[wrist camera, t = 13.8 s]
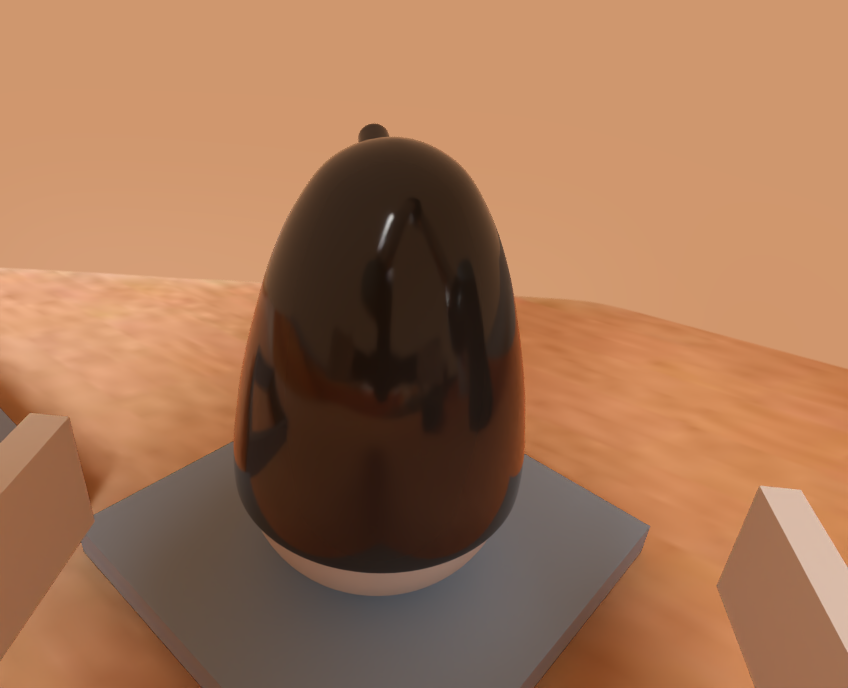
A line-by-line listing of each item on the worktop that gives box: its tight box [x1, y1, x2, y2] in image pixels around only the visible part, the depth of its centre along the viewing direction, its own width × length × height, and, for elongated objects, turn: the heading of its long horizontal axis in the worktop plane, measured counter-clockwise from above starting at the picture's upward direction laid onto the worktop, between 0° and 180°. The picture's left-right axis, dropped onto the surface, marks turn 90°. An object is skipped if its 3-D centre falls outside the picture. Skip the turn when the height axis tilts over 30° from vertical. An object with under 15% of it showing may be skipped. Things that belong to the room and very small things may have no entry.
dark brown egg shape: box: [233, 124, 525, 596], centre depth 22 cm, size 10×10×15 cm
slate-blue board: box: [81, 441, 650, 688], centre depth 27 cm, size 16×16×2 cm
